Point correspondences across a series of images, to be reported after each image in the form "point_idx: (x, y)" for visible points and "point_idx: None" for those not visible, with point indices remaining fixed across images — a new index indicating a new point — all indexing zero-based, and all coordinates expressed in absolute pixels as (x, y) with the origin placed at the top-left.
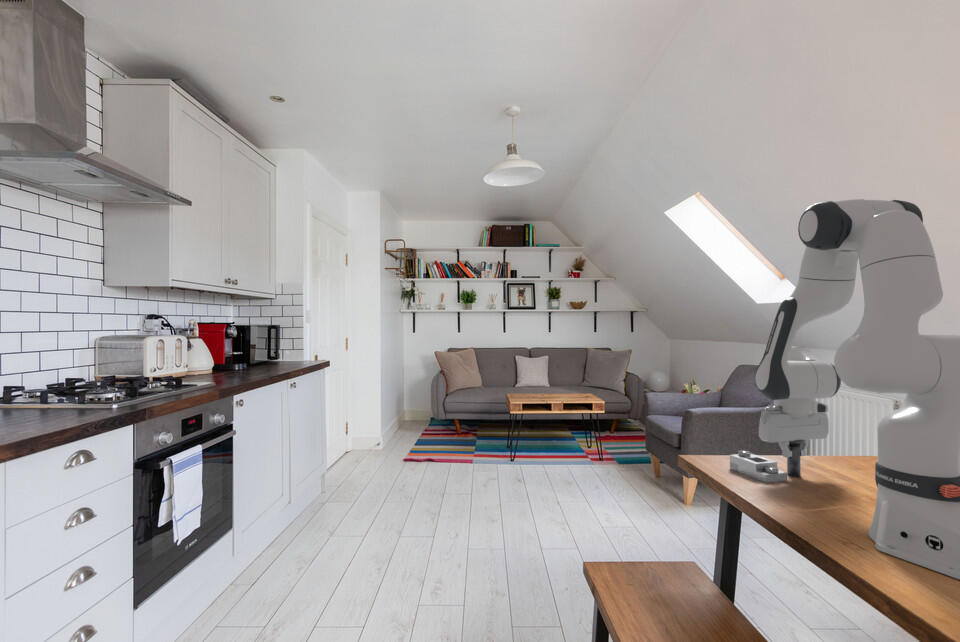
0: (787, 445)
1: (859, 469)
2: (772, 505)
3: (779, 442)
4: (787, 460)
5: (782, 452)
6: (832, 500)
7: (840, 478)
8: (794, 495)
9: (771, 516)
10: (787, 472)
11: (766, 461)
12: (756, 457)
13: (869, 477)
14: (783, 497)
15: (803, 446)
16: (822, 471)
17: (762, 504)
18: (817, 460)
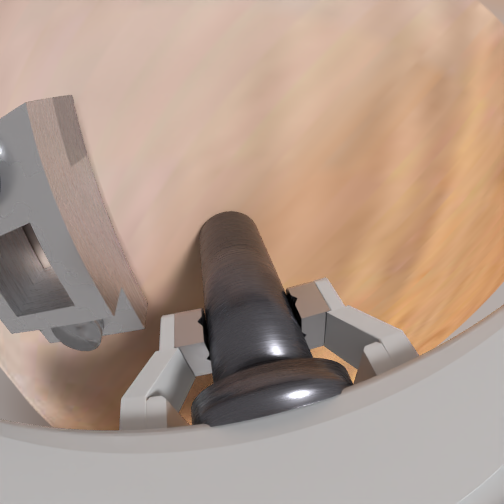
0: (213, 377)
1: (500, 181)
2: (54, 406)
3: (126, 417)
4: (204, 281)
5: (160, 336)
6: (188, 403)
7: (388, 262)
8: (111, 386)
9: (49, 422)
10: (202, 234)
11: (66, 281)
12: (24, 224)
13: (458, 250)
14: (81, 390)
15: (346, 354)
16: (412, 179)
17: (38, 401)
18: (490, 62)
